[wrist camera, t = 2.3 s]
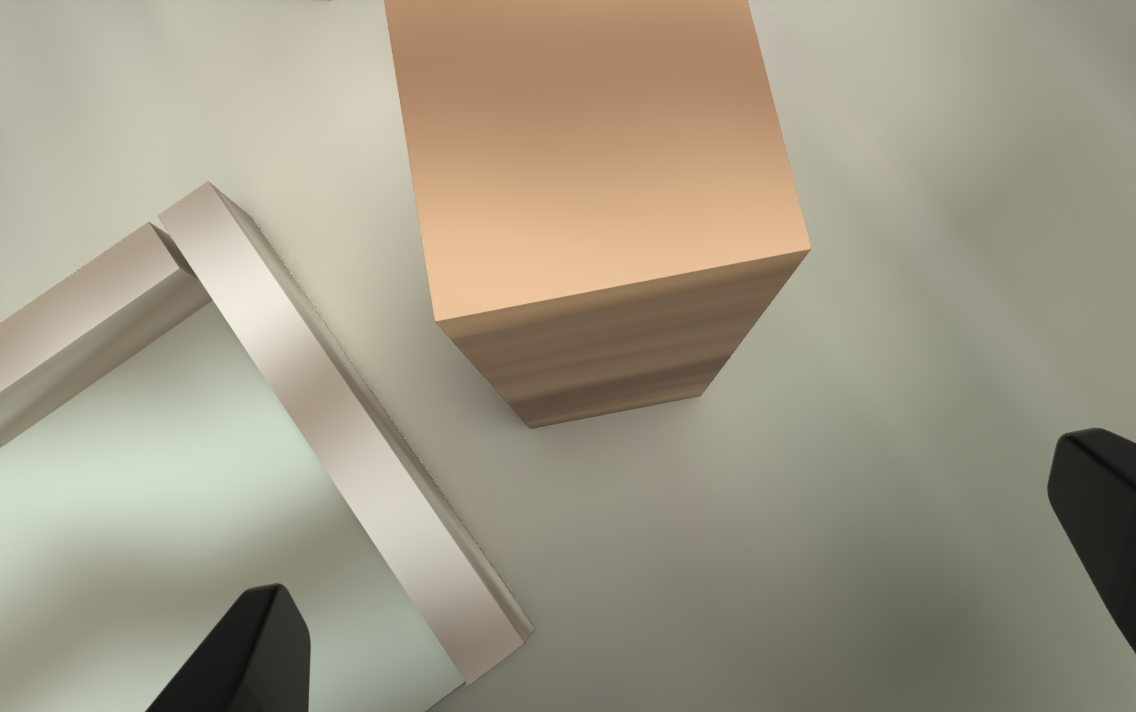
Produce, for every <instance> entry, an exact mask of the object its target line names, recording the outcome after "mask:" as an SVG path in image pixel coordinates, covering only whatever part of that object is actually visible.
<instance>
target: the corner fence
mask: <svg viewBox="0 0 1136 712" xmlns="http://www.w3.org/2000/svg"><path fill="white" fill-rule="evenodd" d="M158 218H159V219H160V221H161V222H162V224H163V225H164V227H165V228H166V230H167V231H168V233H169V234H170V235H169V234H167V233H165V232H164V231H162V230H161V229H159V228H158V227H156V226H155V225H153V224H151V223H150V222H148V223H146V224H145V225H143V226H142V227H140V228H139V229H137V230H136V231H134V232H133V233H131V234H130V235H128V236H127V237H126V238H124V239H123V240H121V241H120V242H118V243H117V244H115V245H114V246H112V247H111V248H109V249H108V250H107V251H105V252H104V253H102V254H101V255H99V256H98V257H96V258H95V259H93V260H92V261H90V262H89V263H87V264H86V265H85V266H83V267H82V268H80V269H79V270H77V271H76V272H74V273H73V274H71V275H70V276H68V277H67V278H66V279H64V280H63V281H61V282H60V283H58V284H57V285H55V286H54V287H52V288H51V289H49V290H48V291H46V292H45V293H44V294H42V295H41V296H39V297H38V298H36V299H35V300H33V301H32V302H30V303H29V304H27V305H26V306H25V307H23V308H22V309H20V310H19V311H17V312H16V313H14V314H13V315H11V316H10V317H8V318H7V319H6V320H4V321H3V322H1V323H0V712H145V711H146V709H147V708H148V707H149V706H150V704H151V703H152V702H153V701H154V700H155V698H156V697H157V696H158V695H159V693H160V692H161V691H162V690H163V689H164V687H165V686H166V685H167V684H168V682H169V681H170V680H171V679H172V678H173V676H174V675H175V674H176V673H177V671H178V670H179V669H180V668H181V667H182V665H183V664H184V663H185V662H186V660H187V659H188V658H189V657H190V656H191V654H192V653H193V652H194V651H195V649H196V648H197V647H198V646H199V645H200V643H201V642H202V641H203V640H204V638H205V637H206V636H207V635H208V634H209V632H210V631H211V630H212V629H213V627H214V626H215V625H216V624H217V623H218V621H219V620H220V619H221V618H222V616H223V615H224V614H225V613H226V612H227V610H228V609H229V608H230V607H231V605H232V604H233V603H234V602H235V601H236V599H237V598H238V597H239V596H240V595H241V594H242V593H243V592H244V591H245V590H246V589H248V588H251V587H256V586H261V585H266V584H272V583H281V584H283V585H284V586H286V588H287V589H288V591H289V592H290V594H291V596H292V598H293V600H294V602H295V604H296V605H297V607H298V609H299V611H300V613H301V615H302V617H303V618H304V620H305V622H306V624H307V627H308V630H309V633H310V640H311V658H310V684H309V711H308V712H425V711H427V710H428V709H429V708H431V707H432V706H433V705H435V704H436V703H437V702H438V701H440V700H441V699H442V698H444V697H445V696H446V695H448V694H449V693H450V692H452V691H453V690H454V689H456V688H457V687H458V686H460V685H461V684H462V683H464V682H465V681H466V683H467V684H468V686H469V685H470V684H471V683H473V682H474V681H475V680H477V679H478V678H479V677H481V676H482V675H483V674H485V673H486V672H487V671H489V670H490V669H491V668H493V667H494V666H495V665H496V664H498V663H499V662H500V661H502V660H503V659H504V658H506V657H507V656H508V655H510V654H511V653H512V652H514V651H515V650H516V649H518V648H519V647H520V646H522V645H523V644H524V643H525V642H526V640H527V639H528V637H529V636H530V634H531V633H532V631H533V630H534V627H533V625H532V624H531V623H530V621H529V620H528V618H527V617H526V615H525V614H524V612H523V611H522V609H521V608H520V607H519V605H518V604H517V602H516V601H515V599H514V598H513V596H512V595H511V593H510V592H509V591H508V589H507V588H506V586H505V585H504V583H503V582H502V580H501V579H500V578H499V576H498V575H497V573H496V572H495V570H494V569H493V567H492V566H491V564H490V563H489V562H488V560H487V559H486V557H485V556H484V554H483V553H482V551H481V550H480V549H479V547H478V546H477V544H476V543H475V541H474V540H473V538H472V537H471V535H470V534H469V533H468V531H467V530H466V528H465V527H464V525H463V524H462V522H461V521H460V520H459V518H458V517H457V515H456V514H455V512H454V511H453V509H452V508H451V506H450V505H449V504H448V502H447V501H446V499H445V498H444V496H443V495H442V493H441V492H440V491H439V489H438V488H437V486H436V485H435V483H434V482H433V480H432V479H431V477H430V476H429V475H428V473H427V472H426V470H425V469H424V467H423V466H422V464H421V463H420V461H419V460H418V459H417V457H416V456H415V454H414V453H413V451H412V450H411V448H410V447H409V446H408V444H407V443H406V441H405V440H404V438H403V437H402V435H401V434H400V432H399V431H398V430H397V428H396V427H395V425H394V424H393V422H392V421H391V419H390V418H389V417H388V415H387V414H386V412H385V411H384V409H383V408H382V406H381V405H380V403H379V402H378V401H377V399H376V398H375V396H374V395H373V393H372V392H371V390H370V389H369V388H368V386H367V385H366V383H365V382H364V380H363V379H362V377H361V376H360V374H359V373H358V372H357V370H356V369H355V367H354V366H353V364H352V363H351V361H350V360H349V359H348V357H347V356H346V354H345V353H344V351H343V350H342V348H341V347H340V345H339V344H338V343H337V341H336V340H335V338H334V337H333V335H332V334H331V332H330V331H329V329H328V328H327V327H326V325H325V324H324V322H323V321H322V319H321V318H320V316H319V315H318V314H317V312H316V311H315V309H314V308H313V306H312V305H311V303H310V302H309V300H308V299H307V298H306V296H305V295H304V293H303V292H302V290H301V289H300V287H299V286H298V285H297V283H296V282H295V280H294V279H293V277H292V276H291V274H290V273H289V271H288V270H287V269H286V267H285V266H284V264H283V263H282V261H281V260H280V258H279V257H278V256H277V254H276V253H275V251H274V250H273V248H272V247H271V245H270V244H269V242H268V241H267V240H266V238H265V237H264V235H263V234H262V232H261V231H260V229H259V228H258V227H257V225H256V224H255V222H254V221H253V219H252V218H251V217H250V216H249V215H248V214H247V213H246V212H244V211H243V210H242V209H241V208H240V207H238V206H237V205H236V204H235V203H234V202H233V201H231V200H230V199H229V198H228V197H227V196H225V195H224V194H223V193H222V192H221V191H219V190H218V189H217V188H216V187H215V186H213V185H212V184H211V183H210V182H209V181H208V182H206V183H205V184H203V185H202V186H200V187H199V188H197V189H196V190H194V191H193V192H191V193H190V194H189V195H187V196H186V197H184V198H183V199H181V200H180V201H178V202H177V203H175V204H174V205H172V206H171V207H169V208H168V209H167V210H165V211H164V212H162V213H161V214H159V215H158Z"/></svg>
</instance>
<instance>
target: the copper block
mask: <svg viewBox="0 0 1136 712" xmlns="http://www.w3.org/2000/svg"><path fill="white" fill-rule="evenodd" d="M384 3H385V10H386V16H387V22H388V29H389V35H390V41H391V47H392V54H393V60H394V66H395V73H396V79H397V85H398V92H399V98H400V104H401V111H402V117H403V123H404V130H405V136H406V142H407V149H408V155H409V161H410V167H411V174H412V180H413V186H414V193H415V199H416V205H417V212H418V218H419V224H420V231H421V237H422V243H423V250H424V256H425V262H426V269H427V275H428V281H429V287H430V294H431V300H432V306H433V313H434V319H435V322H436V323H437V324H438V326H439V327H440V328H441V329H442V330H443V331H444V332H445V333H446V335H447V336H448V337H449V338H450V339H451V340H452V341H453V342H454V343H455V345H456V346H457V347H458V348H459V349H460V350H461V351H462V352H463V354H464V355H465V356H466V357H467V358H468V359H469V360H470V361H471V363H472V364H473V365H474V366H475V367H476V368H477V369H478V370H479V371H480V373H481V374H482V375H483V376H484V377H485V378H486V379H487V380H488V382H489V383H490V384H491V385H492V386H493V387H494V388H495V389H496V391H497V392H498V393H499V394H500V395H501V396H502V397H503V398H504V399H505V401H506V402H507V403H508V404H509V405H510V406H511V407H512V408H513V410H514V411H515V412H516V413H517V414H518V415H519V416H520V417H521V418H522V420H523V421H524V422H525V423H526V424H527V425H528V426H529V427H530V429H531V428H536V427H541V426H546V425H552V424H557V423H562V422H567V421H573V420H578V419H583V418H588V417H593V416H599V415H604V414H609V413H614V412H620V411H625V410H630V409H635V408H640V407H646V406H651V405H656V404H661V403H667V402H672V401H677V400H682V399H687V398H693V397H698V396H701V395H702V394H703V392H704V391H705V390H706V388H707V387H708V386H709V384H710V383H711V382H712V380H713V379H714V378H715V376H716V375H717V374H718V372H719V371H720V370H721V368H722V367H723V366H724V364H725V363H726V362H727V360H728V359H729V358H730V356H731V355H732V354H733V352H734V351H735V350H736V348H737V347H738V346H739V344H740V343H741V342H742V340H743V339H744V338H745V336H746V335H747V334H748V332H749V331H750V330H751V328H752V327H753V326H754V324H755V323H756V322H757V320H758V319H759V318H760V316H761V315H762V314H763V312H764V311H765V310H766V308H767V307H768V306H769V304H770V303H771V302H772V300H773V299H774V298H775V296H776V295H777V294H778V292H779V291H780V290H781V288H782V287H783V286H784V284H785V283H786V282H787V280H788V279H789V278H790V276H791V275H792V274H793V272H794V271H795V270H796V268H797V267H798V266H799V264H800V263H801V262H802V260H803V259H804V258H805V256H806V255H807V254H808V252H809V251H810V250H811V245H810V242H809V238H808V234H807V230H806V226H805V222H804V218H803V214H802V210H801V207H800V203H799V199H798V195H797V191H796V187H795V183H794V179H793V175H792V171H791V168H790V164H789V160H788V156H787V152H786V148H785V144H784V140H783V136H782V132H781V129H780V125H779V121H778V117H777V113H776V109H775V105H774V101H773V97H772V94H771V90H770V86H769V82H768V78H767V74H766V70H765V66H764V62H763V58H762V55H761V51H760V47H759V43H758V39H757V35H756V31H755V27H754V23H753V19H752V16H751V12H750V8H749V4H748V0H384Z"/></svg>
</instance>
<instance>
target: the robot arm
mask: <svg viewBox="0 0 1136 712" xmlns="http://www.w3.org/2000/svg"><path fill="white" fill-rule="evenodd" d="M1047 491H1048V497H1049V501H1050V504H1051V506H1052V508H1053V510H1054V512H1055V514H1056V516H1057V518H1058V519H1059V521H1060V523H1061V525H1062V527H1063V529H1064V530H1065V532H1066V534H1067V536H1068V538H1069V540H1070V542H1071V543H1072V545H1073V547H1074V549H1075V551H1076V553H1077V554H1078V556H1079V558H1080V560H1081V562H1082V564H1083V566H1084V567H1085V569H1086V571H1087V573H1088V575H1089V577H1090V578H1091V580H1092V582H1093V584H1094V586H1095V588H1096V590H1097V591H1098V593H1099V595H1100V597H1101V599H1102V601H1103V602H1104V604H1105V606H1106V608H1107V609H1108V611H1109V613H1110V615H1111V616H1112V618H1113V620H1114V621H1115V623H1116V625H1117V626H1118V628H1119V629H1120V631H1121V632H1122V634H1123V635H1124V637H1125V638H1126V640H1127V642H1128V643H1129V645H1130V646H1131V647H1132V649H1133V650H1134V652H1135V653H1136V443H1135V442H1132V441H1130V440H1128V439H1126V438H1123V437H1121V436H1119V435H1117V434H1114V433H1112V432H1110V431H1107V430H1105V429H1101V428H1090V429H1085V430H1080V431H1074V432H1069V433H1065V434H1063V435H1062V436H1061V437H1060V438H1059V439H1058V441H1057V444H1056V448H1055V453H1054V457H1053V462H1052V466H1051V471H1050V475H1049V480H1048V485H1047ZM310 658H311V640H310V633H309V630H308V627H307V624H306V622H305V620H304V618H303V617H302V615H301V613H300V611H299V609H298V607H297V605H296V604H295V602H294V600H293V598H292V596H291V594H290V592H289V591H288V589H287V588H286V586H284V585H283V584H281V583H272V584H266V585H261V586H256V587H251V588H248V589H246V590H245V591H244V592H243V593H242V594H241V595H240V596H239V597H238V598H237V599H236V601H235V602H234V603H233V604H232V605H231V607H230V608H229V609H228V610H227V612H226V613H225V614H224V615H223V616H222V618H221V619H220V620H219V621H218V623H217V624H216V625H215V626H214V627H213V629H212V630H211V631H210V632H209V634H208V635H207V636H206V637H205V638H204V640H203V641H202V642H201V643H200V645H199V646H198V647H197V648H196V649H195V651H194V652H193V653H192V654H191V656H190V657H189V658H188V659H187V660H186V662H185V663H184V664H183V665H182V667H181V668H180V669H179V670H178V671H177V673H176V674H175V675H174V676H173V678H172V679H171V680H170V681H169V682H168V684H167V685H166V686H165V687H164V689H163V690H162V691H161V692H160V693H159V695H158V696H157V697H156V698H155V700H154V701H153V702H152V703H151V704H150V706H149V707H148V708H147V709H146V711H145V712H308V711H309V684H310Z"/></svg>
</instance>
